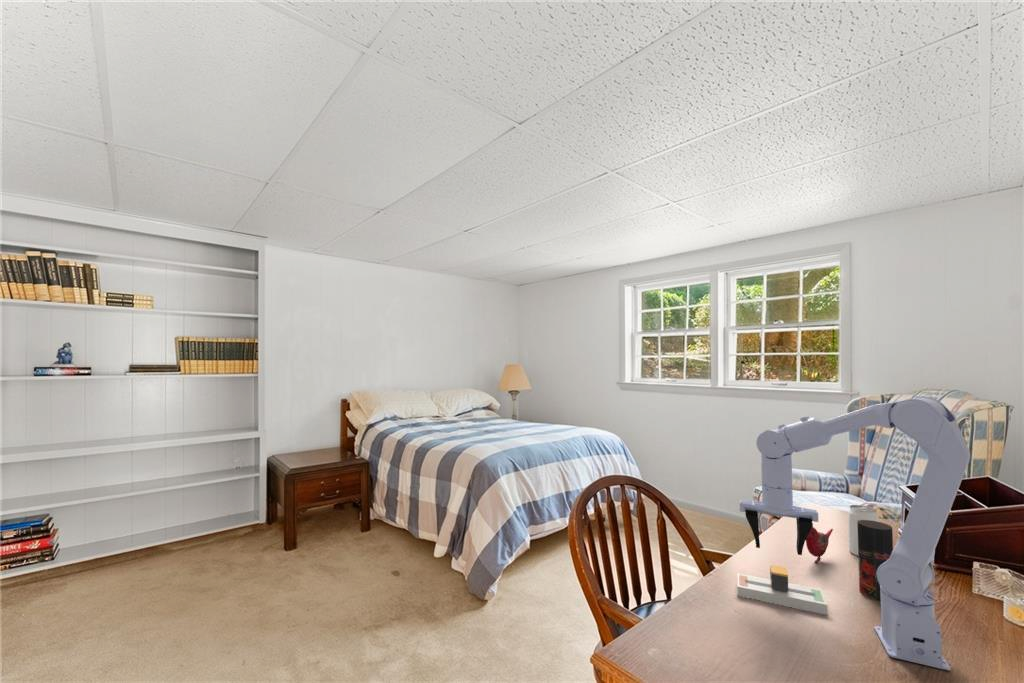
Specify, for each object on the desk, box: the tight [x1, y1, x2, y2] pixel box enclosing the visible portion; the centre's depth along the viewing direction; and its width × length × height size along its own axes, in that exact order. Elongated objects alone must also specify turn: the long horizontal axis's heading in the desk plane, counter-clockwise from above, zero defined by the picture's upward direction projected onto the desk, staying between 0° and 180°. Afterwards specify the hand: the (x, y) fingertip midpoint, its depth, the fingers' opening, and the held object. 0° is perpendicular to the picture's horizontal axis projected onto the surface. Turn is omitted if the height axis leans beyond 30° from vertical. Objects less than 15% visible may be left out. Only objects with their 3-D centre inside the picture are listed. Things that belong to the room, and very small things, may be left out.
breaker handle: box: [769, 564, 789, 592], centre depth 96 cm, size 4×3×3 cm
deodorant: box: [857, 520, 894, 602], centre depth 98 cm, size 6×6×15 cm
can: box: [847, 504, 880, 557], centre depth 119 cm, size 6×6×12 cm
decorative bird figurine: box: [805, 526, 834, 565], centre depth 114 cm, size 3×18×10 cm, turn 127°
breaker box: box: [736, 573, 829, 616], centre depth 96 cm, size 7×16×2 cm, turn 63°
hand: (778, 549), depth 96 cm, fingers open, 7 cm apart
